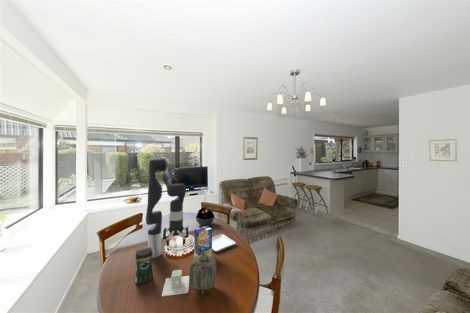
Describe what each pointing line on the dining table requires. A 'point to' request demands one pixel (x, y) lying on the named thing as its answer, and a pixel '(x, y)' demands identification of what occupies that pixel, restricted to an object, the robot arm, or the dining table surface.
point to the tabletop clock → (202, 271)
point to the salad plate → (221, 242)
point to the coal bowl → (205, 217)
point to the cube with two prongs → (176, 277)
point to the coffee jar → (143, 265)
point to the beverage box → (203, 240)
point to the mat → (176, 287)
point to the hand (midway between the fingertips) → (175, 245)
